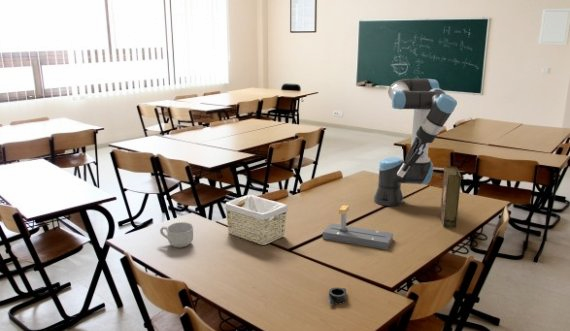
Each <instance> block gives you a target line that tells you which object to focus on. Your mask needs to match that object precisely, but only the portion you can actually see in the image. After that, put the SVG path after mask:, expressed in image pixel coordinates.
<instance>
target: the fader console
mask: <svg viewBox="0 0 570 331" xmlns="http://www.w3.org/2000/svg"><path fill="white" fill-rule="evenodd" d="M340 227H341V224H338V223H337V224H336V223H329V225H328V226H327V227H326V228H325V229H324V230H323V231H322V239H324V240H329V241H334V242H335V241H336V242H340V243H341V242H342V243H348V244H352V245H359V246H364V247H370V248H375V249H376V248H377V249H381V250H388V249H389V248H390V246H389V245H391V243H392V242H393V239H394V233H393V232H388V231H383V230H375V229H370V228H362V227H356V226H350V225H346V227H348V229H347V230H346V231H342V230H339V228H340Z"/></svg>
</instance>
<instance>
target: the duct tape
mask: <svg viewBox="0 0 570 331" xmlns="http://www.w3.org/2000/svg"><path fill="white" fill-rule="evenodd" d="M345 301H347V289H346V288H343V287H331V288H330V289H329V290H328V303H329V304H330V305H332V306H335V305H340V304H339V303H342V304H344V303H345ZM343 302H344V303H343ZM335 303H337V304H335Z"/></svg>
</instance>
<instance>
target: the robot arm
mask: <svg viewBox="0 0 570 331" xmlns="http://www.w3.org/2000/svg"><path fill="white" fill-rule="evenodd" d="M387 95H388V97H389V98H390V100H391V107H392V109H395V110H413V118H412V119H413V120H412V129H411V130H412V131H411V140H410V142H411V144H410V148H409V150H408V152H407V154H406V155H405V160H403V158H402V157H395V156H393V157H387V158H383V159H381V160H380V161H379V166H378V167H379V168H378V180H377V181H378V184H377V189H376V191H375V194H374V196H373V197H374V198H373V202H374V203H375V204H377V205H381V206H385V207H398V206H401V205H403V204H404V196H403V193H402V192H403V191H402V188H401V186H402V184H409V185H411V184H412V185H428V184H429V183H430V181H431V180H432V177H433V172H434V170H433V169H434V164H433V162H432V161H431V158H430V157H429V156H428V154H429V147H430V145H429V144H432V143H434V140H436V137H437V135H439V134H440V132H441V130H442V129H443V128H444V126H445V124H446V123H447V121H448V119H449V118H450V116H451V115H452V114H453V112H454V111H455V109H456V107H457V105H458V102H457V100H456V99H455V98H454V97H453V96H451V95H449V94H447V93H446V92H445V91H444V90H443V89H441V88H440V84H439V81H438V80H437V79H434V78H433V79H432V78H403V79H399V80H396V81H394V82H392V84H391V85H390V86H389V87H388V90H387Z"/></svg>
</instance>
